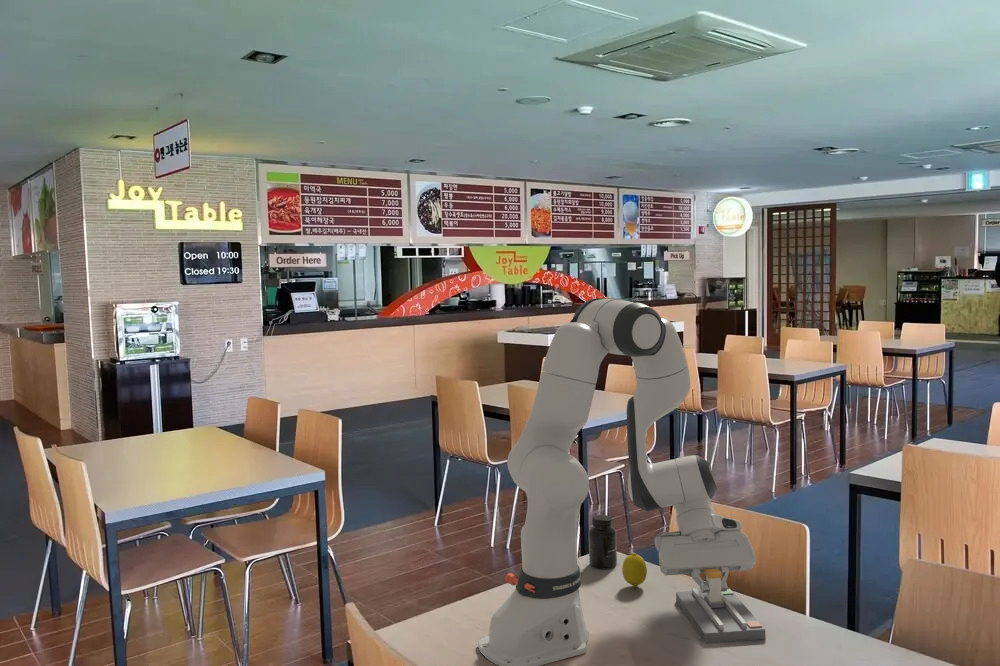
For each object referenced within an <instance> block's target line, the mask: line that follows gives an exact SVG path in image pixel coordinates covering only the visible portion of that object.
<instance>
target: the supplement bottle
mask: <svg viewBox="0 0 1000 666" xmlns="http://www.w3.org/2000/svg"><path fill="white" fill-rule="evenodd" d="M591 518H592V519H591V521H592V522H591V525H592V526H591V527H590V529H589V530H588V556H589V558H588V559H589V561H588V562H589V566H591V567H592V568H594V569H596V570H597V569H598V570H608V569H609V570H610V569H613V568H614V567H616V566H617V563H618V555H617V554H618V552H617V551H618V549H617V531H616V529H615V528H614V527H613V519H612V516H610V515H607V514H598V515H594V516H592V517H591Z"/></svg>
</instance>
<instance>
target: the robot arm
mask: <svg viewBox="0 0 1000 666" xmlns="http://www.w3.org/2000/svg"><path fill="white" fill-rule="evenodd" d="M675 327H676V326H675V325H674V324H673V323H672V322H671V321H670V320H668V319H666V318H663V317H661V316H660V314H659V313H658V312H657V311H656V310H655V309H653V307H651V306H649V305H647V304H644V303H641V302H633V301H628V300H625V299H621V298H602V297H596V298H593V299H592V298H591V299H589V300H586V301H585V302H583V303H582V304H580V306H578V308H577V309H576V310H575V313H574V315H573V316H572V319H571V320H570V321H569V322H567V323H564V324H562V325H560V326H558V328H557V329H556V331H555V333H554V336H553V337H552V339H551V341H550V344H549V347H548V350H547V352H546V355H545V359H544V361H543V365H542V369H541V374H540V378H539V380H538V381H539V382H538V385H537V390H536V393H535V394H536V395H535V398H534V401H533V405H532V409H531V411H530V414H529V416H528V419H527V421H526V423H525V425H524V428H523V429H522V431H521V433H520V436H519V439H518V441H517V442H516V444H515V445H513V447H512V448H511V449H510V451H509V453H508V457H507V461H506V462H507V463H506V464H507V469H508V473H509V474H510V477H511V479H512V481H513V482H514V484H515V485H516V486H517V487H518V488H519V489H520V490H522V491H523V492H525V496H526V498H527V508H526V514H525V515H526V516H525V521H524V524H523V525H522V527H521V530H520V543H521V544H520V545H521V548H520V549H521V568H520V569H519V574H518V576H517V575H515V574H514V573H512V572H510V573H509V572H508V573H507V574H506V576H505V579H504V580H505V582H506V583H507V584H510V585H511V586H515V589H514V590H513V592H512V593H511V594H510V595H509V597H507V599H506V600H505V601H504V602H503V603H502V604H501V606H500V607H499V608H498V609H497V610H496V611H495V612H494V613H493V614H492V616H491V619H490V622H489V623H490V624H489V632H488V633H489V634H488V635H486V636H485V637H483V638H481V639H479V640H478V644H477V645H478V646H477V649H478V648H479V649H478V651H479V650H480V651H479V653H480V652H481V653H482V654H483V655H484V656H485V657H484V656H483V657H484V658H486V659H487V660H488V661H489V662H491V663H494V664H495V665H496V666H542V665H543V666H544V665H546V664H550V663H554V662H557V661H562V660H565V659H569V658H573V657H576V656H580V655H583V654H586V652H587V651H588V650H587V649H588V648H587V645H586V644H587V642H588V640H589V637H590V636H589V631H588V629H587V626H586V622H585V619H584V613H583V608H582V603H581V596H580V587H581V568H580V566H579V565H578V544H577V543H578V542H577V537H578V536H577V535H578V531H577V530H578V520H579V518H580V516H579V515H580V511H581V506H582V504H583V503H584V501H585V500H586V498H587V496H588V494H589V490H590V479H589V476H588V472H587V471H586V470H585V468H584V467H583V465H582V464H581V463H580V461H579V460H578V459H577V458H576V457H575V456H573V455H572V454H570V449H571V447H572V445H573V443H574V441H575V438H576V437H577V435H578V433H579V431H581V429H583V427H584V426H585V425H586V424H587V422H588V418H589V415H590V411H591V407H592V403H593V399H594V394H595V391H596V385H597V381H598V377H599V372H600V366H601V364H602V361H603V360H604V358H605V357H606V356H607V355H608V354H612V355H619V356H628V357H630V359H632V365H633V369H634V374H635V379H636V386H635V391H634V393H633V395H632V396H631V397H630V398H629V399H628V401H627V405H626V434H627V435H626V437H627V451H628V453H627V455H628V456H627V457H628V464H629V465H628V466H629V467H628V468H629V469H628V470H629V471H628V477H627V491H628V494H629V498H630V500H631V502H632V504H633V505H634V506H635V507H637V508H639V509H640V510H643V511H645V512H646V513H649V512H653V511H656V510H659V509H660V510H661V509H662V508H666V507H671V506H673V509H674V510H675V513H676V515H675V522H676V526H677V530H678V531H676V530H675V531H669V532H665V531H663V532H660V533H659V534H657V535H656V536H655V537H654V539H653V540H654V547H655V549H656V551H657V552H658V560H659V561H658V562H659V569H660V572H661V573H662V574H663V575H664V576H677V575H679V576H680V575H691V577H692V580H693V581H694V582H695V583H696V584H697V585H698V586H699V589H700V590H701V593H708V592H709V591H710V588H709V586H708V585H709V584H708V582H706V581H705V580H703V578H702V577H701V574H705V569H718V570H719V571H720V572H721V573H722V578H721V592H723V591H724V592H725V591H727V590H728V589H729V587H728V582H727V579H728V577H729V573H730V572H739V571H740V572H742V571H751V570H752V569H753V567H754V566H755V565H756V561H757V558H756V554H755V551H754V548H753V546H752V544H751V541H750V539H749V537H748V536H747V535H746V534H745V533H744V532H743V531H742V527H743V526H742V522H741V521H740V520H738V519H734V518H729V517H726V516H722V515H719V514H717V513H716V511H715V509H714V508H713V506H712V505H713V504H712V499H713V498H714V496H715V494H716V492H717V490H718V488H717V484H716V482H715V478H713V471H712V466H711V464H710V462H709V461H708V460H706V458H704V457H702V456H700V455H697V454H696V455H692V454H691V455H686V456H681V457H677V458H673V459H669V460H664V461H659V462H654V463H650V462H648V457H647V456H648V455H647V437H646V436H647V433H648V430H649V429H650V428H651V427H652V425H654V423H656V422H657V421H658V420H660V419H661V418H662V417H664V416H666V415H667V414H669V413H671V412H673V411H675V409H677V408H678V407H679V406H680V405H681V404H682V403H684V401H685V400H686V398H687V397H688V395H689V392H690V389H691V375H690V370H689V365H688V360H687V356H686V353H685V351H684V350H685V349H684V347H683V344H682V342H681V339H680V337H679V334H678V332H677V329H676V328H675ZM700 590H699V591H700ZM481 653H480V654H481ZM482 654H481V655H482Z"/></svg>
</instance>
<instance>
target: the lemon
mask: <svg viewBox="0 0 1000 666" xmlns="http://www.w3.org/2000/svg"><path fill="white" fill-rule="evenodd" d="M622 563H623V564H622V568H621V569H622V575H623V579H624V581H626V583H628V584H629V585H631V586H632V587H634V588H637V587H638V586H640V585H642V584H643V583H644V582H645V580H646V578H647V574H648V569H647V564H646V561H645V559H644V558H643V557H642V556H641V555H639V554H637V553H636V552H632V553H631V554H628V555H627V556H626V557H625V558H624V559H623V562H622Z"/></svg>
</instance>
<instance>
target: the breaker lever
mask: <svg viewBox="0 0 1000 666" xmlns="http://www.w3.org/2000/svg"><path fill="white" fill-rule="evenodd" d="M704 574H705V576H706V577H705V582H708V584H709V585H708V586H709V588H710V591H709V592H708V593H706V594H707V596H704V600H705V601H706V602H707V604H708V605H709V606H710V608H722V607H724V602H723V600H722V597H721V581H722V579H723V576H722V573H721V572H720V571H719V570H718V569H705V573H704Z"/></svg>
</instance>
